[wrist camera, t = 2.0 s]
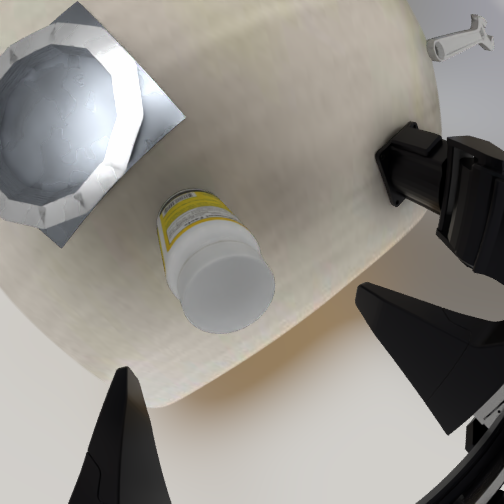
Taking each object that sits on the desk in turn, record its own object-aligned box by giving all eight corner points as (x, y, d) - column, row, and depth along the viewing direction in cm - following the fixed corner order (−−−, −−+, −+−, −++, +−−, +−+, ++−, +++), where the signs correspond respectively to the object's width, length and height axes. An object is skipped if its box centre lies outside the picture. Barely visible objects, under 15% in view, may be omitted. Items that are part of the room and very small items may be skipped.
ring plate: (184, 117, 14) (193, 117, 12) (64, 243, 15) (52, 269, 12) (80, 5, 8) (69, -15, 5) (-33, 141, 8) (-60, 150, 5)
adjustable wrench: (426, 63, 18) (440, 64, 17) (408, 10, 15) (421, 9, 13) (488, 49, 20) (496, 50, 18) (478, 15, 16) (487, 16, 14)
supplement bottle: (212, 259, 20) (257, 342, 13) (148, 247, 17) (161, 339, 10) (236, 196, 18) (301, 257, 11) (168, 178, 16) (191, 234, 9)
